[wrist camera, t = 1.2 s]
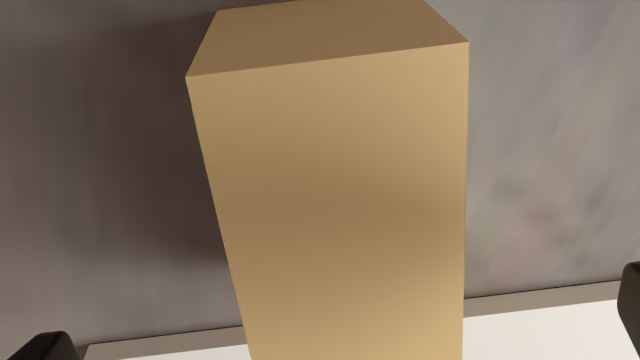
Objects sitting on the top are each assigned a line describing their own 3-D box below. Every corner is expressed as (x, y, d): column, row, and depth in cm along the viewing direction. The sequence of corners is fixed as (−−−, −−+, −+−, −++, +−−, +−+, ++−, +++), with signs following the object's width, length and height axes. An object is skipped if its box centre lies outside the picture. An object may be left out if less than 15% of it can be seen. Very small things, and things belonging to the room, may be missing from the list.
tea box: (407, -15, 13) (469, 41, 9) (415, 244, 17) (462, 375, 12) (211, 10, 13) (174, 78, 9) (261, 263, 17) (254, 400, 12)
